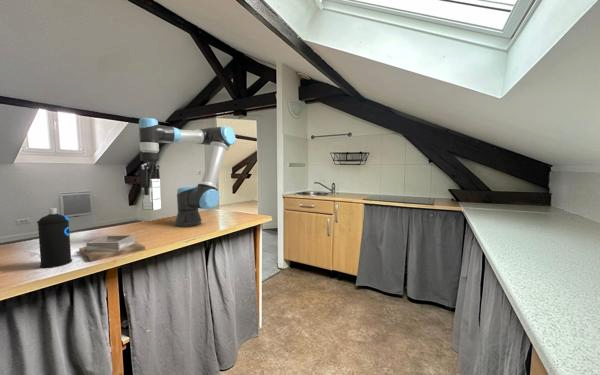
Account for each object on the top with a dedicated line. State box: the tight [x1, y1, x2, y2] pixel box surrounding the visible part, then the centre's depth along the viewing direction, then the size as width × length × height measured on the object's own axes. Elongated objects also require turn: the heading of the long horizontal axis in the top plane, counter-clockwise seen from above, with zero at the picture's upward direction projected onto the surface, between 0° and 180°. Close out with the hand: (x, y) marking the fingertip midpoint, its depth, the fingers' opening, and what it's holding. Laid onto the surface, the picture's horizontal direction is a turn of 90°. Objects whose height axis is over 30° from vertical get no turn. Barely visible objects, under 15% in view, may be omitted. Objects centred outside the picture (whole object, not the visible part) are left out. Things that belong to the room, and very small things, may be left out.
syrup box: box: [141, 178, 162, 211], centre depth 117 cm, size 6×6×14 cm
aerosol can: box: [36, 207, 73, 269], centre depth 87 cm, size 8×8×20 cm
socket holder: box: [78, 234, 146, 263], centre depth 102 cm, size 18×18×5 cm
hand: (151, 200), depth 117 cm, fingers closed on syrup box, 6 cm apart
